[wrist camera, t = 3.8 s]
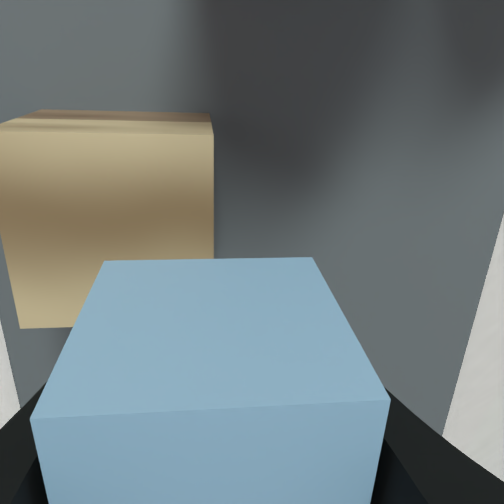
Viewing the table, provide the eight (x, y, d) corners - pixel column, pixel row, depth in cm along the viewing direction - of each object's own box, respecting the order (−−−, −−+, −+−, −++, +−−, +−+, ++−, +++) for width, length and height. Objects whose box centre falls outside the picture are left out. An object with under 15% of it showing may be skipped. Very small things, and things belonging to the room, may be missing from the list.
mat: (433, 454, 26) (435, 458, 26) (40, 481, 23) (38, 486, 23) (562, -21, 16) (568, -23, 16) (-82, -62, 14) (-88, -65, 14)
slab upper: (211, 286, 17) (213, 322, 14) (45, 290, 16) (20, 328, 14) (211, 122, 14) (213, 135, 12) (15, 118, 14) (-22, 131, 11)
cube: (297, 412, 13) (350, 605, 8) (122, 421, 12) (78, 632, 8) (312, 257, 11) (390, 400, 6) (104, 260, 10) (29, 418, 6)
